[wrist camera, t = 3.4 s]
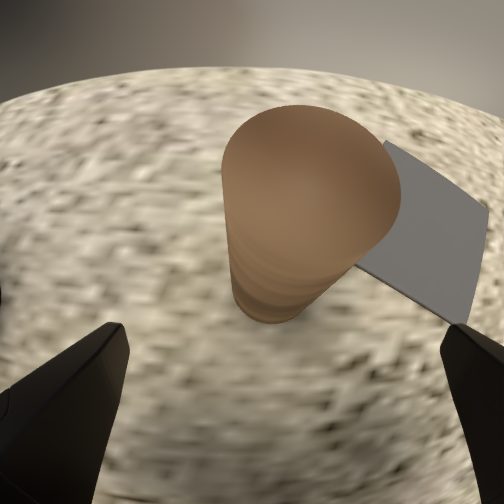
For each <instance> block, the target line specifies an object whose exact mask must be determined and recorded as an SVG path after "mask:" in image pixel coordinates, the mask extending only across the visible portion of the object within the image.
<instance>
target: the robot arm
mask: <svg viewBox="0 0 504 504" xmlns="http://www.w3.org/2000/svg"><path fill="white" fill-rule="evenodd" d="M129 354H130V348H129V344H128V340H127V336H126V332H125V328H124V326H123V325H122V324H121V323H115V322H107V323H105V324H104V325H102V326H101V327H99V328H98V329H96V330H94V331H93V332H91V333H90V334H88V335H87V336H85V337H84V338H82V339H81V340H79V341H78V342H76V343H75V344H73V345H72V346H70V347H69V348H67V349H66V350H64V351H63V352H61V353H60V354H58V355H57V356H55V357H54V358H52V359H51V360H49V361H48V362H46V363H45V364H43V365H42V366H40V367H39V368H37V369H36V370H34V371H33V372H31V373H30V374H28V375H27V376H25V377H24V378H22V379H21V380H19V381H18V382H16V383H15V384H14V385H12V386H11V387H10V388H8V389H6V390H5V391H3V392H2V393H0V504H92V500H93V496H94V491H95V487H96V483H97V480H98V476H99V472H100V468H101V464H102V461H103V457H104V454H105V450H106V447H107V443H108V440H109V436H110V433H111V430H112V426H113V423H114V420H115V416H116V413H117V410H118V406H119V403H120V398H121V393H122V388H123V383H124V378H125V374H126V369H127V364H128V360H129ZM440 355H441V358H442V361H443V365H444V369H445V372H446V376H447V380H448V384H449V388H450V391H451V395H452V398H453V401H454V404H455V407H456V410H457V413H458V416H459V419H460V422H461V425H462V428H463V432H464V435H465V438H466V442H467V445H468V449H469V452H470V456H471V460H472V464H473V467H474V472H475V476H476V480H477V484H478V489H479V494H480V498H481V504H504V346H502V345H500V344H499V343H497V342H495V341H493V340H492V339H490V338H488V337H486V336H485V335H483V334H481V333H479V332H478V331H476V330H474V329H472V328H471V327H469V326H467V325H465V324H463V323H456V324H452V325H450V326H449V328H448V330H447V332H446V335H445V337H444V339H443V341H442V343H441V346H440Z"/></svg>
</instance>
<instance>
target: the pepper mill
mask: <svg viewBox="0 0 504 504" xmlns="http://www.w3.org/2000/svg"><path fill="white" fill-rule="evenodd" d="M222 187H223V198H224V210H225V221H226V232H227V242H228V253H229V263H230V273H231V283H232V291H233V295H234V298H235V301H236V303H237V304H238V306H239V307H240V309H241V310H242V311H243V312H244V313H245V314H246V315H247V316H249V317H250V318H252V319H254V320H256V321H259V322H262V323H268V324H276V323H282V322H285V321H288V320H290V319H292V318H293V317H295V316H296V315H297V314H299V313H300V312H301V311H302V310H303V309H305V308H306V307H307V306H308V305H309V304H311V303H312V302H313V301H314V300H315V299H316V298H318V297H319V296H320V295H321V294H322V293H323V292H325V291H326V290H327V289H328V288H329V287H330V286H331V285H333V284H334V283H335V282H336V281H337V280H338V279H339V278H341V277H342V276H343V275H344V274H345V273H346V272H347V271H348V270H349V269H351V268H352V267H353V266H354V265H355V264H356V263H357V262H358V261H359V260H360V259H362V258H363V257H364V256H365V255H366V254H367V253H368V252H369V251H370V250H371V249H372V248H373V247H375V246H376V245H377V244H378V243H379V242H380V241H381V240H382V239H383V238H384V237H385V236H386V235H387V234H388V232H389V231H390V229H391V228H392V226H393V225H394V223H395V220H396V218H397V216H398V212H399V209H400V203H401V186H400V180H399V176H398V173H397V170H396V167H395V165H394V163H393V160H392V159H391V157H390V155H389V154H388V152H387V150H386V149H385V148H384V146H383V145H382V144H381V143H380V142H379V140H378V139H377V138H376V137H375V136H374V135H373V134H372V133H370V132H369V131H368V130H367V129H366V128H364V127H363V126H361V125H360V124H359V123H357V122H355V121H354V120H352V119H350V118H348V117H346V116H344V115H342V114H340V113H337V112H334V111H331V110H329V109H324V108H320V107H315V106H307V105H290V106H282V107H277V108H273V109H270V110H267V111H264V112H262V113H259V114H257V115H256V116H254V117H252V118H250V119H249V120H248V121H246V122H245V123H244V124H242V125H241V126H240V127H239V128H238V129H237V130H236V132H235V133H234V134H233V136H232V137H231V138H230V140H229V142H228V144H227V146H226V149H225V152H224V155H223V160H222Z"/></svg>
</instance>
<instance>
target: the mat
mask: <svg viewBox="0 0 504 504" xmlns="http://www.w3.org/2000/svg"><path fill="white" fill-rule="evenodd" d="M383 146H384V148H385V149H386V150H387V152H388V154H389V155H390V157H391V159H392V160H393V163H394V165H395V167H396V170H397V173H398V176H399V180H400V186H401V203H400V209H399V212H398V216H397V218H396V220H395V223H394V225H393V226H392V228H391V229H390V231H389V232H388V234H387V235H386V236H385V237H384V238H383V239H382V240H381V241H380V242H379V243H378V244H377V245H376V246H375V247H373V248H372V249H371V250H370V251H369V252H368V253H367V254H366V255H365V256H364V257H363V258H362V259H360V260H359V261H358V262H357V263H356V264H355V266H357V267H359V268H360V269H362V270H364V271H365V272H367V273H369V274H370V275H372V276H374V277H375V278H377V279H379V280H380V281H382V282H384V283H385V284H387V285H389V286H390V287H392V288H394V289H395V290H397V291H399V292H400V293H402V294H404V295H405V296H407V297H408V298H410V299H412V300H413V301H415V302H417V303H418V304H420V305H421V306H423V307H425V308H426V309H428V310H429V311H431V312H433V313H434V314H436V315H437V316H439V317H441V318H442V319H444V320H445V321H447V322H448V323H450V324H456V323H463V324H465V325H466V324H467V320H468V317H469V313H470V310H471V306H472V302H473V298H474V294H475V290H476V286H477V282H478V277H479V272H480V267H481V262H482V257H483V251H484V245H485V239H486V232H487V225H488V217H489V210H488V209H486V208H485V207H484V206H483V205H481V204H480V203H479V202H478V201H476V200H475V199H474V198H472V197H471V196H470V195H468V194H467V193H466V192H464V191H463V190H462V189H460V188H459V187H458V186H456V185H455V184H454V183H452V182H451V181H449V180H448V179H447V178H445V177H444V176H442V175H441V174H439V173H438V172H436V171H435V170H433V169H432V168H430V167H429V166H427V165H426V164H424V163H423V162H421V161H420V160H418V159H417V158H415V157H414V156H412V155H410V154H409V153H407V152H405V151H404V150H402V149H401V148H399V147H397V146H396V145H394V144H392V143H390V142H389V141H387V140H385V142H384V144H383Z"/></svg>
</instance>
